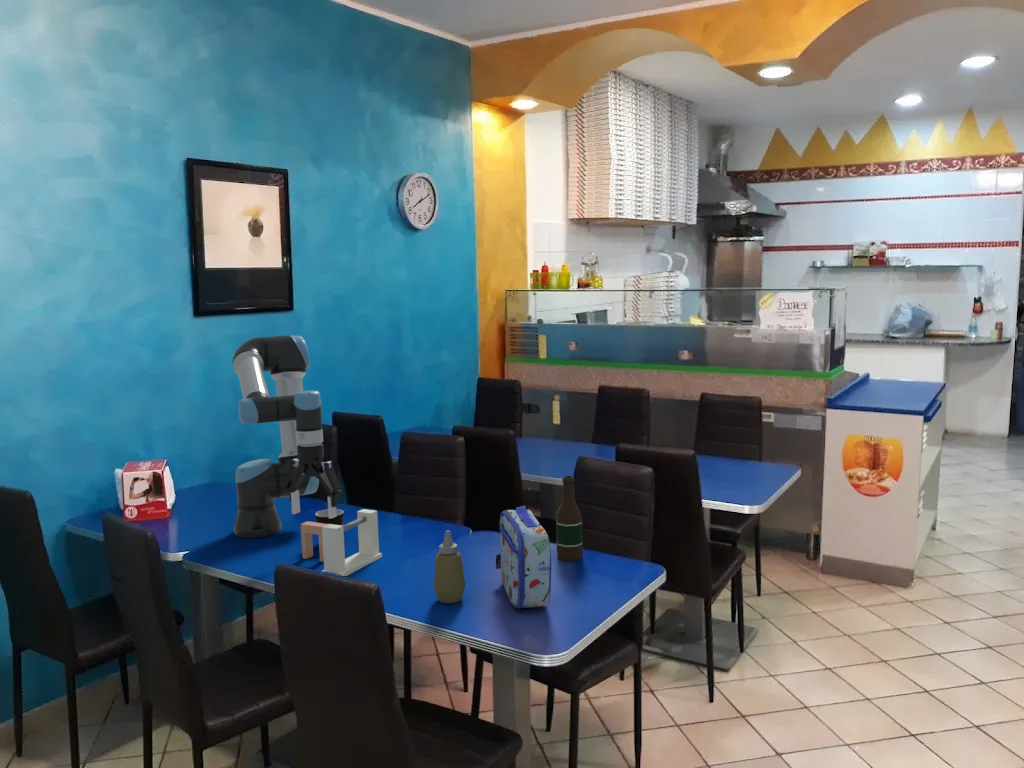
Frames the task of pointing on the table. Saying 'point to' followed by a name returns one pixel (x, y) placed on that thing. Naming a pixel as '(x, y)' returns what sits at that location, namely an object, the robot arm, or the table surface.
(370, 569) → the table surface
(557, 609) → the table surface
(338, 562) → the rod bracket
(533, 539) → the lunch box
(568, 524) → the beer bottle
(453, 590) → the squeeze bottle
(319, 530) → the arch
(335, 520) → the coffee mug
